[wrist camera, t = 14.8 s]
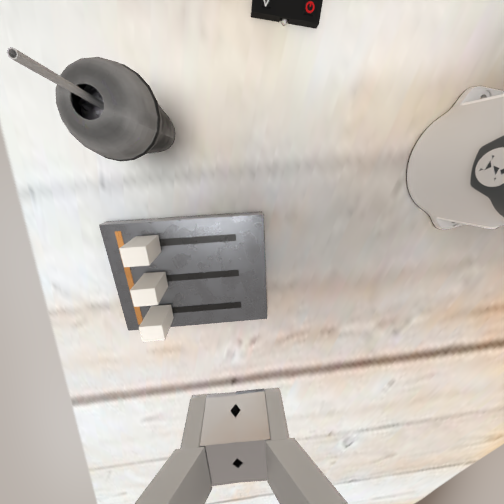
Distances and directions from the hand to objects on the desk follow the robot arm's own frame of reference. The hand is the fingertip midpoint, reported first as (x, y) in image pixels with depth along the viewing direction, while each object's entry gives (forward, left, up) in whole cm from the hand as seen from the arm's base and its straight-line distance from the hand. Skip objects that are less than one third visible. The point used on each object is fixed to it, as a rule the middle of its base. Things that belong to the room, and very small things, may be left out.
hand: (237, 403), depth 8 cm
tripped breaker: (+12, +13, -26) cm, 32 cm away
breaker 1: (+12, +2, -26) cm, 29 cm away
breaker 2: (+12, +7, -26) cm, 30 cm away
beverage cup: (+9, -12, -29) cm, 32 cm away
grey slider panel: (+7, +7, -29) cm, 30 cm away
